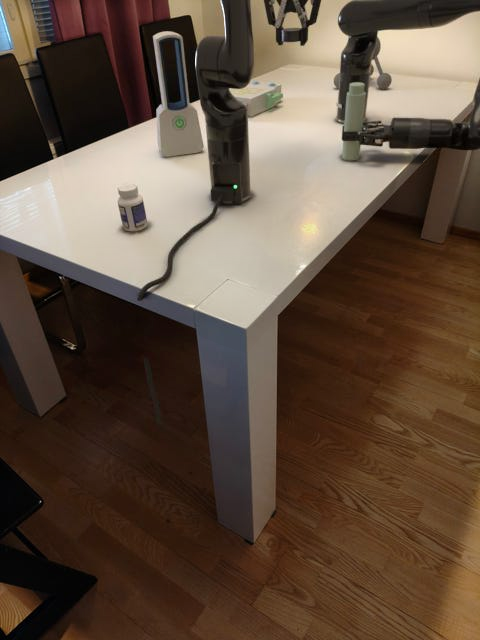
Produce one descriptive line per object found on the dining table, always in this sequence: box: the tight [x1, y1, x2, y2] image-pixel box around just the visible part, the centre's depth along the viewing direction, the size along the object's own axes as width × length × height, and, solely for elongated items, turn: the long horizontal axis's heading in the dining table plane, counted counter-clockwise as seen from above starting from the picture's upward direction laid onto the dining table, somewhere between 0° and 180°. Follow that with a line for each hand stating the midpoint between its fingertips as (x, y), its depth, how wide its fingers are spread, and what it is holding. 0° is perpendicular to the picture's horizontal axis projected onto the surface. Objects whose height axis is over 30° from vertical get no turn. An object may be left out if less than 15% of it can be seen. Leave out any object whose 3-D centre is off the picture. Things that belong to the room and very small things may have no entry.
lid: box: [281, 27, 302, 43], centre depth 119 cm, size 5×5×2 cm
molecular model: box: [333, 36, 393, 90], centre depth 184 cm, size 24×22×30 cm
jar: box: [341, 82, 366, 162], centre depth 126 cm, size 5×5×18 cm
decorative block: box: [229, 80, 284, 118], centre depth 173 cm, size 26×6×20 cm
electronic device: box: [152, 30, 205, 158], centre depth 133 cm, size 12×8×30 cm, turn 105°
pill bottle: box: [117, 182, 148, 232], centre depth 102 cm, size 5×5×9 cm
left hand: (291, 44), depth 120 cm, fingers closed on lid, 5 cm apart
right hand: (342, 133), depth 128 cm, fingers closed on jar, 4 cm apart
